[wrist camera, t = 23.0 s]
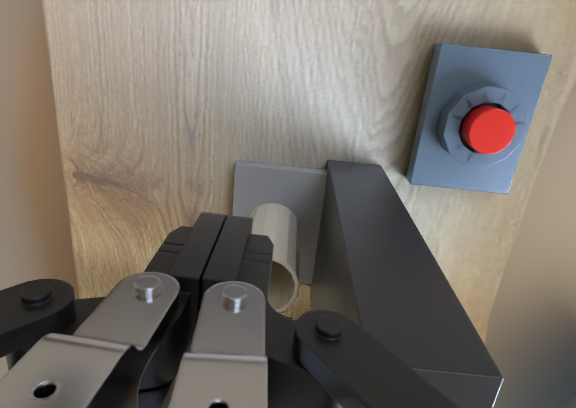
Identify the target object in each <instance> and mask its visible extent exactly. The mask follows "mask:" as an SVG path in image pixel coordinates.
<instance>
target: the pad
mask: <svg viewBox="0 0 576 408" xmlns="http://www.w3.org/2000/svg"><path fill="white" fill-rule="evenodd" d="M551 58H552V55H546V54H537V53H527V52H518V51H509V50H499V49H490V48H481V47H471V46H462V45H453V44H443V43H435V47H434V52H433V56H432V61H431V65H430V70H429V75H428V79H427V84H426V88H425V93H424V97H423V102H422V107H421V111H420V116H419V120H418V125H417V129H416V134H415V139H414V143H413V148H412V152H411V157H410V161H409V166H408V171H407V175H406V179H407V180H408V182H409V183H410V184H416V185H425V186H435V187H444V188H454V189H464V190H473V191H483V192H493V193H502V194H508V192H509V189H510V186H511V182H512V179H513V176H514V173H515V170H516V167H517V164H518V161H519V158H520V155H521V151H522V148H523V145H524V142H525V139H526V136H527V133H528V130H529V127H530V124H531V120H532V117H533V114H534V111H535V108H536V105H537V102H538V99H539V96H540V93H541V89H542V86H543V83H544V80H545V77H546V74H547V71H548V68H549V65H550V62H551ZM486 105H490V106H495V107H497V108H500V109H502V110H505V111H507V112H508V113H509V114H510V115H511V116H512V117H513V119H514V121H515V125H516V130H515V135H514V137H513V139H512V141H511V142H510V144H509V145H508V146H507V147H506V148H504V149H503V150H501V151H499V152H497V153H493V154H483V153H480V152H478V151H476V150H475V149H473V148H472V147H470V146H469V145H468V144H467V143H466V142H465V141H464V139H463V137H462V125H463V122H464V120H465V118H466V117H467V115H468V114H469V113H470V112H471V111H473V110H474V109H476V108H478V107H481V106H486Z"/></svg>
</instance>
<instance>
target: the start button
mask: <svg viewBox="0 0 576 408" xmlns="http://www.w3.org/2000/svg"><path fill="white" fill-rule="evenodd" d="M515 130H516V125H515V121H514V119H513V117H512V116H511V115H510V114H509V113H508V112H507V111H505V110H502V109H500V108H497V107H495V106H490V105H486V106H481V107H478V108H476V109H474V110H473V111H471V112H470V113H469V114H468V115H467V117H466V118H465V120H464V122H463V125H462V137H463V139H464V141H465V142H466V143H467V144H468V145H469V146H470V147H472V148H473V149H475V150H476V151H478V152H480V153H483V154H493V153H497V152H499V151H501V150H503V149H504V148H506V147H507V146H508V145H509V144H510V142H511V141H512V139H513V137H514V135H515Z"/></svg>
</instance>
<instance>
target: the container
mask: <svg viewBox="0 0 576 408" xmlns="http://www.w3.org/2000/svg"><path fill="white" fill-rule="evenodd" d="M248 217H250V218H253V225H252V234H258V235H267V236H268V237H269V238H270V240H271V241H272V243H273V244H274V248H273V257H272V266H271V275H270V285H269V293H268V302H269V304H270V305H271V307H272V308H273V309H274V310H275V311H277V312H278V313H280V312H282V311H284V310H285V309H287V308H288V307H290V306H291V305H292V303H293V302H294V300H295V299H296V297H297V296H298V290H299V266H300V228H299V222H298V219H297V217H296V215H295V214H294V213H293V212H292V211H291V210H290V209H289V208H287V207H285V206H283V205H281V204H276V203H266V204H262V205H260V206H258V207H256V208H255V209H253V210H252V211H251V212H250V213H249V215H248Z"/></svg>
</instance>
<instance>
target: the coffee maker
mask: <svg viewBox="0 0 576 408" xmlns="http://www.w3.org/2000/svg"><path fill="white" fill-rule="evenodd" d="M266 203H276V204H281V205H283V206H285V207H287V208H289V209H290V210H291V211H292V212H293V213H294V214H295V215H296V217H297V219H298V222H299V228H300V266H299V283H303V284H311V285H310V292H311V311H314V310H329V311H334V312H338V313H340V314H343V315H345V316H347V317H348V318H350V319H351V320H353V321H354V322H355V323H356V324H358V325H359V326H360V327H361V328H363V329H364V330H365V331H366V332H367V333H369V334H370V335H371V336H372V337H374V338H375V339H376V340H377V341H379V342H380V343H381V344H382V345H383V346H385V347H386V348H387V349H388V350H390V351H391V352H392V353H393V354H395V355H396V356H397V357H398V358H399V359H401V360H402V361H403V362H404V363H406V364H407V365H408V366H409V367H411V368H412V369H413V370H414V371H415V372H417V373H418V374H419V375H420V376H422V377H423V378H424V379H425V380H427V381H428V382H429V383H430V384H432V385H433V386H434V387H435V388H436V389H438V390H439V391H440V392H441V393H443V394H444V395H445V396H446V397H448V398H449V399H450V400H451V401H452V402H454V403H455V404H456V405H457V406H459V407H460V408H493V405H494V402H495V400H496V397H497V395H498V392H499V390H500V387H501V385H502V382H503V376H502V374H501V372H500V371H499V369H498V367H497V365H496V364H495V362H494V360H493V358H492V357H491V355H490V353H489V352H488V350H487V348H486V347H485V345H484V343H483V341H482V339H481V338H480V336H479V334H478V333H477V331H476V329H475V327H474V326H473V324H472V322H471V320H470V319H469V317H468V315H467V313H466V312H465V310H464V308H463V307H462V305H461V303H460V301H459V300H458V298H457V296H456V294H455V293H454V291H453V289H452V288H451V286H450V284H449V282H448V281H447V279H446V277H445V275H444V274H443V272H442V270H441V269H440V267H439V265H438V263H437V262H436V260H435V258H434V256H433V255H432V253H431V251H430V249H429V248H428V246H427V244H426V243H425V241H424V239H423V237H422V236H421V234H420V232H419V230H418V229H417V227H416V225H415V224H414V222H413V220H412V218H411V217H410V215H409V213H408V211H407V210H406V208H405V206H404V205H403V203H402V201H401V199H400V198H399V196H398V194H397V192H396V191H395V189H394V187H393V185H392V184H391V182H390V180H389V179H388V177H387V175H386V173H385V172H384V170H383V168H382V166H381V165H372V164H362V163H352V162H343V161H333V160H328V164H327V170H321V169H312V168H302V167H292V166H283V165H273V164H264V163H254V162H244V161H236V163H235V172H234V191H233V211H232V216H241V217H248V215H249V213H250V212H251V211H252V210H253V209H255V208H256V207H258V206H260V205H262V204H266Z"/></svg>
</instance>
